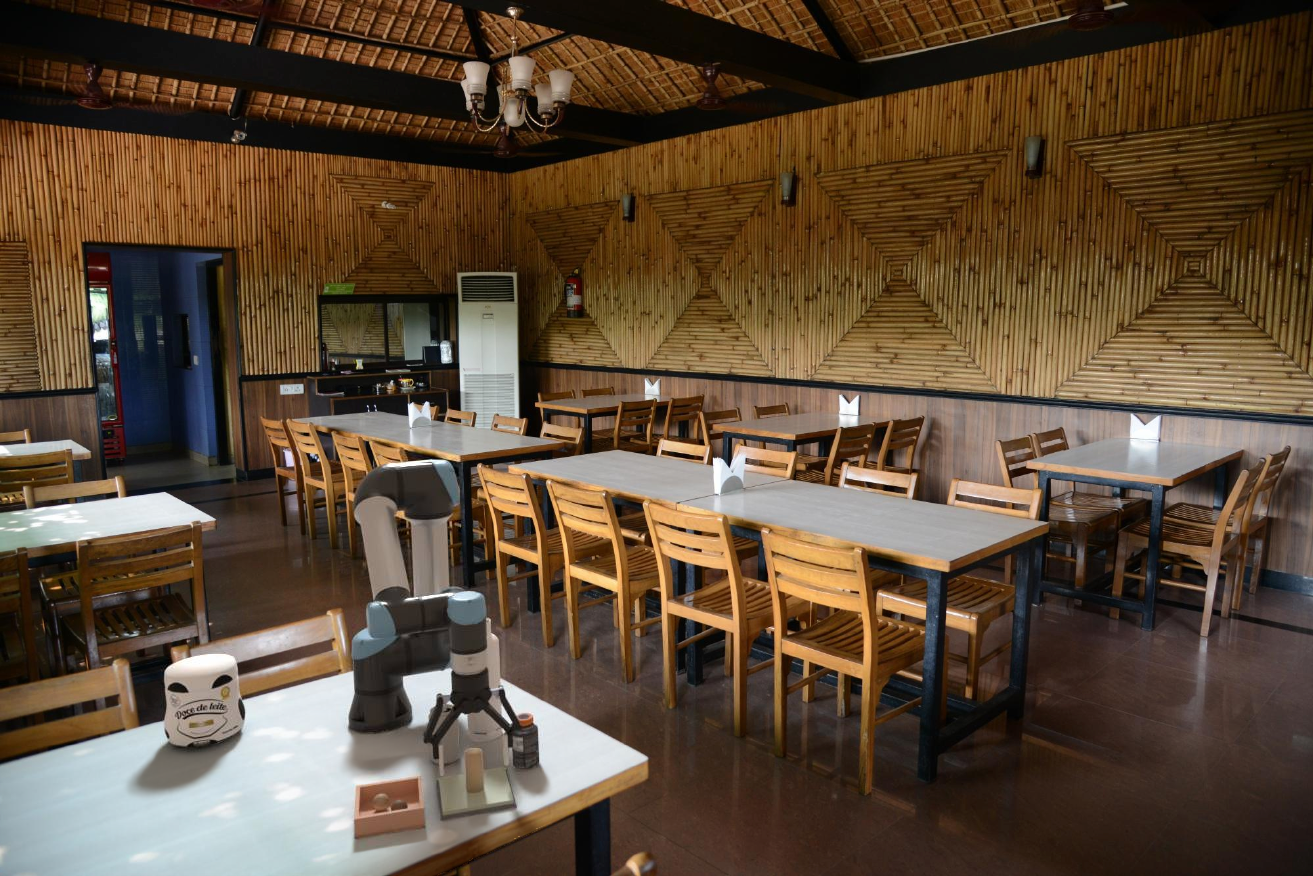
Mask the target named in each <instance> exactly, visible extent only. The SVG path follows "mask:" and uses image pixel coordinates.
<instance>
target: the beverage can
mask: <svg viewBox="0 0 1313 876" xmlns="http://www.w3.org/2000/svg"><path fill="white" fill-rule="evenodd" d="M453 706H454V705H453V704H448V703H447V705H446V706H444V707H443V709H442V713H441V715H440V717H439V720H438V722H437V725H436V727H435V729H434V732H433V734H432V735H434V733H435V732H436V731H437V729H438V728H439V727H440V725H441V724H442V722H443V721H444V720H445V718H446V717H447V715H448V714H449V713H450V711H451V709H452V707H453ZM434 708H435V706H433V707H431V708H430V709H429V714H428V721H429V720H430V717H431V715H432V713H433V710H434ZM442 745H443V765H444V766H446V765H450V764H453V763H455V762H456V761H457V760H458V759H459V758H460V755H461V753H460V751H461V750H460V733H459V717H458V718H457V719H456V720H455V721H454V723H453V724H452V726H451V727H450V728H449V730H448V731H447V732H446V734H445V735H444V737H443V738H442ZM429 749H430V750H429V753H430V760H431V762H433V763H434V764H436V765H439V759H435V760H434V758H433V746H432V744H430V743H429Z"/></svg>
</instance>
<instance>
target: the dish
mask: <svg viewBox="0 0 1313 876" xmlns="http://www.w3.org/2000/svg"><path fill="white" fill-rule="evenodd" d="M423 788H424V787H423V776H422V775H418V776H411V777H406V778H405V777H404V778H398V779H391V780H386V781H378V782H374V783H367V784H361V785H360V784H359V785H356V786H355V795H354V796H355V797H354V798H355V799H354V800H355V801H354V811H353V812H354V815H353V826H354V839H355V840H358V839H364V838H370V837H375V836H382V835H387V834H391V833H399V832H404V831H410V830H415V829H421V828H426V815H425V813H426V812H425V799H424V789H423ZM378 794H385V795H387V796H388V798H389V805H388V807H387V808H386V809H385V810H382V811H378V810H376V809H375V808H374V807H373V799H374V798H375V796H377V795H378ZM399 799H401V800H404V801H405V802H406V803H407V805H408V808H407V809H401V810H395V811H391V806H392V804H393V803H394V802H395V801H396V800H399Z"/></svg>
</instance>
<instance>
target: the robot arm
mask: <svg viewBox="0 0 1313 876" xmlns="http://www.w3.org/2000/svg"><path fill="white" fill-rule="evenodd" d="M460 494H461V493H460V488H459V484H458V480H457V474H456V473H455V469H454V467H453V465H452V464H451V462H450V461H449V460H446V459H426V460H425V459H424V460H415V461H414V460H413V461H403V462H389V463H383V464H381V465H378V466H376V467H375V468H373V469H371V471H369V472H368V473H367V474H365V476H364V477H363V479H362V480H361V481H360V482H359V484H358V486H357V488H356V490H355V493H354V497H353V501H352V508H353V510H352V511H353V516H354V519H355V520H356V522H357V523H358V524H359V525H360V529H361V534H362V539H363V546H364V552H365V557H366V562H367V563H366V564H367V569H368V574H369V581H370V585H371V592H372V598H373V602H369V603H368V604H367V605H366V610H365V616H366V626H367V627H365V628H364V629H362V630H360V631H359V632H357V633H356V634H355V635H354V637H353V638H352V641H351V654H350V657H351V659H352V670H353V671H352V672H353V689H354V695H353V698H352V701H351V706H350V709H349V712H348V726H349V728H350V729H351V730H353V731H355V732H357V733H363V734H377V733H379V734H380V733H385V732H389V731H393V730H396V729H399V728H401V727H403V726H404V725H406V724H408V723H409V722H410V721H411V719H413V706H412V704H411V701H410V698H409V696H408V695H407V692H406V689H405V686H404V677H408V676H414V675H421V674H426V673H427V674H428V673H432V672H442V671H443V672H444V671H445V670H447V669H451V672H450V678H451V679H450V681H451V692H450V694H443V693H441V692H440V693H437V694H436V697H435V698H436V700H435V705H434V707H435V708H434V710H433V713H432V715H431V717H430V720H429V719H428V722H427V724H426V727H425V730H424V732H423V734H422V741H423V743H424V744H429V745H430V744H432V746H433V758H434V760H435V759H439V764H438V769H439V776H440V777H444V776H445V768H444V766H445V765H443V745H442V738H443V737H444V735H445V734H446V732H447V731H448V730H449V728H450V727H451V726H452V724H453V723H454V721H455V720H456V719H457V718H458V719H459V718H460V716H461V714H463V715H464V716H466V715H467V714H470V713H480V711H482V710H484V711H485V712H486V713H487V714H488V715H489V716H490V717H491V718H492V719H493V720H494V721H495V722H496V723H497V724H498V725H499V726H500V727H501V728H502V735H501V736H502V738H501V739H502V754H503V755H502V756H503V757H502V760H503V762H504V763H503V764H504V766H506V767H507V766H509V765H510V764H509V761H510V760H509V749H510V748H511V749H512V747H513V732H514V731H516V730H520V729H521V724H520V721H519V719H518V718H517V716H516V715H517V714H516V712H515V711H514V709H513V707H512V705H511V704H510V702H509V700H508V698H507V697H506V691H505V687H504V685H502V684H501V685H499V686H498V688H495V689H490V687H489V670H488V668H487V666H488V650H487V625H486V623H487V622H486V618H487V613H488V610H487V609H488V608H487V606H486V599H485V595H483V594H482V593H480V592H477V591H472V590H469V591H468V590H467V591H466V590H465V589H463V588H462V587H459V586H450V572H449V545H448V541H449V539H448V520H450V518H451V517H452V516H453V514H454V507H457V506H459V505H460V498H461V495H460ZM398 512H403V516H404V518H405V519H406V520H407V521H408V522H409V523H410V526H411V527H410V529H411V549H412V550H411V552H412V554H411V557H412V576H413V578H412V579H413V596H411V590H410V586H409V585H410V584H409V580H408V575H407V571H406V565H405V562H404V561H405V560H404V556H403V552H402V547H401V543H400V537H399V533H398V528H397V524H396V519H395V517H396V516H397V513H398ZM492 695H494V696H495V697H496V699H500V701H501V706H502V707H503V709H504V711H505V713H507V716H508V718H509V719H510V721H511V723H509V722H508V720H507V719H506V718H505V717H503V715H502V716H501V715H500V714H499V713H498V712H497V711H496V710H495V709H494V708H493V707H492V706H491V704H490V703H489V702H488V701H489V700H490V698H491V697H492ZM449 702H450V703H451V705H453V707H452V709H451V711H450V713H449V714H448V715H447V717H446V718H445V720H444V721H443V722H442V724H441V725H440V727H439V728H438V729H437V731H436V732H435V733H434V735H432V734H433V732H434V729H435V727H436V725H437V722H438V720H439V717H440V715H441V713H442V709H443V707H444V706H446V705H447V704H448V703H449Z"/></svg>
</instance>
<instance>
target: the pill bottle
mask: <svg viewBox="0 0 1313 876" xmlns="http://www.w3.org/2000/svg"><path fill="white" fill-rule="evenodd" d="M516 716H517V718H518V719H519V721H520V724H521V729H520V730H516V731H514V732H513V747H512V748H511V755H512V756H511V760H512V766H513V768H514V769H516V770H521V771H528V770H532V769H535V768H536V767H537V766H538V765H539V764H540V748H539V747H540V746H539V743H540V740H539V728H538V724H537V723H535V722H534V715H533V713H529V712H521V713H519V714H516Z"/></svg>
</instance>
